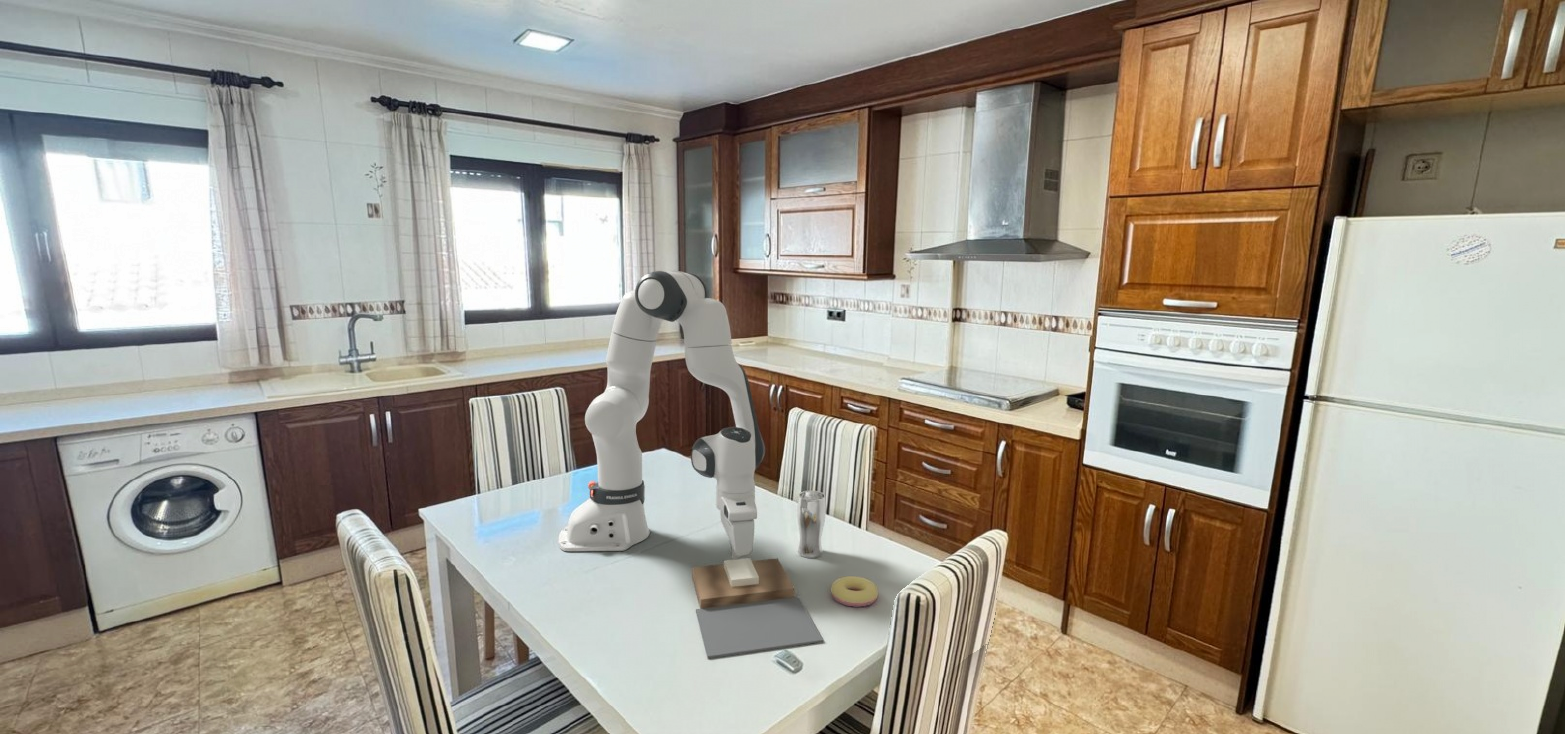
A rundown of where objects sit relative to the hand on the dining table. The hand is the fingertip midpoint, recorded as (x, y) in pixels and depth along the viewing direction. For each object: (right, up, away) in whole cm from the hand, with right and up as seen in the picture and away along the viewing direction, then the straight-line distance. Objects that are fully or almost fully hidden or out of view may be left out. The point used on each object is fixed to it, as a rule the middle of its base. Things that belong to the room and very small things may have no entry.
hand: (735, 555), depth 147 cm
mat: (+6, -7, -22) cm, 24 cm away
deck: (+2, -5, -8) cm, 9 cm away
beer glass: (+18, -3, +10) cm, 21 cm away
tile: (+2, -2, -7) cm, 8 cm away
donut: (+27, -6, -10) cm, 29 cm away
